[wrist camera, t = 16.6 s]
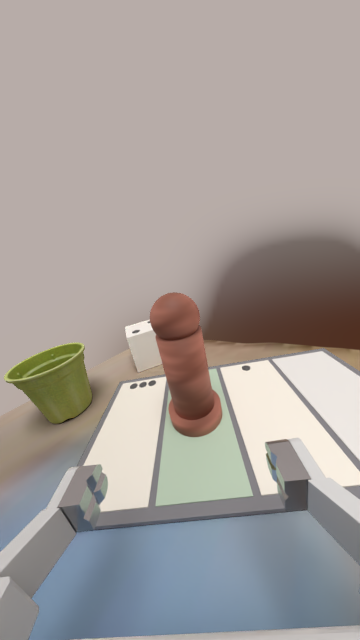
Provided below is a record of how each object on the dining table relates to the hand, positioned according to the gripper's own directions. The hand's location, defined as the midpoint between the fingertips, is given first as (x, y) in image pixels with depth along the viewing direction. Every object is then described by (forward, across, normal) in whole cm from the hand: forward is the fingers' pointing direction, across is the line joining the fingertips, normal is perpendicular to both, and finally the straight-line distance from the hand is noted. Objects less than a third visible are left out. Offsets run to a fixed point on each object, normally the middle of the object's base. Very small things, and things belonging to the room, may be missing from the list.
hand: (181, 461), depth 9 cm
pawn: (+11, 0, +8) cm, 13 cm away
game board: (+11, -4, +8) cm, 14 cm away
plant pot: (+16, +19, +9) cm, 26 cm away
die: (+27, +8, +8) cm, 29 cm away
